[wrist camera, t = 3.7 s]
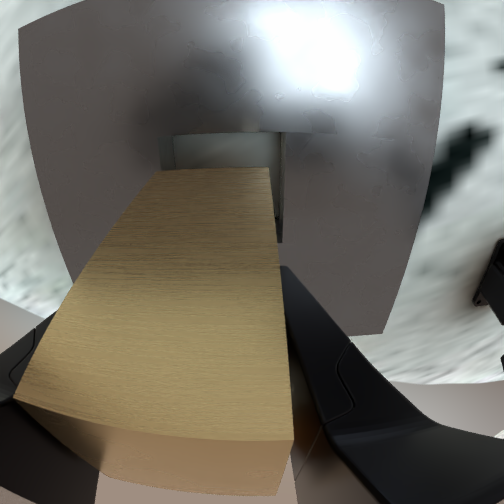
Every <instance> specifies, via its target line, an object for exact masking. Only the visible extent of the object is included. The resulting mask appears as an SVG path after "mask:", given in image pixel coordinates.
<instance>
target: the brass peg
mask: <svg viewBox="0 0 504 504" xmlns="http://www.w3.org/2000/svg"><path fill="white" fill-rule="evenodd" d="M13 398H14V399H15V400H16V401H17V402H18V404H19V405H20V406H21V407H23V408H24V409H25V410H26V411H27V412H28V413H29V414H30V415H31V416H32V417H33V418H34V419H35V420H36V421H37V422H38V423H39V424H41V425H42V426H43V427H44V428H45V429H46V430H47V431H48V432H50V433H51V434H52V435H53V436H54V437H55V438H57V439H58V440H59V441H60V442H62V443H63V444H64V445H65V446H66V447H68V448H69V449H70V450H72V451H73V452H74V453H75V454H77V455H78V456H79V457H81V458H82V459H83V460H85V461H86V462H88V463H89V464H90V465H92V466H93V467H95V468H96V469H98V470H99V471H101V472H102V473H103V474H105V475H106V476H108V477H110V478H114V479H119V480H123V481H127V482H132V483H136V484H141V485H146V486H152V487H157V488H164V489H171V490H177V491H185V492H194V493H205V494H217V495H237V496H238V495H239V496H271V495H272V496H275V495H276V493H277V490H278V487H279V485H280V482H281V479H282V476H283V473H284V470H285V467H286V464H287V460H288V457H289V454H290V451H291V448H292V445H293V442H294V431H293V416H292V402H291V388H290V375H289V363H288V351H287V339H286V327H285V316H284V305H283V295H282V285H281V274H280V264H279V255H278V245H277V236H276V227H275V217H274V209H273V200H272V191H271V183H270V174H269V167H235V168H202V169H182V170H165V171H156V172H155V174H154V175H153V176H152V177H151V178H150V180H149V181H148V182H147V183H146V184H145V186H144V187H143V188H142V189H141V191H140V192H139V193H138V194H137V196H136V197H135V198H134V199H133V201H132V202H131V203H130V205H129V206H128V207H127V208H126V210H125V211H124V212H123V214H122V215H121V216H120V218H119V219H118V220H117V222H116V223H115V224H114V226H113V227H112V228H111V230H110V231H109V233H108V234H107V235H106V237H105V238H104V240H103V241H102V242H101V244H100V245H99V247H98V248H97V250H96V251H95V252H94V254H93V255H92V257H91V258H90V260H89V261H88V263H87V264H86V266H85V267H84V269H83V270H82V272H81V273H80V275H79V276H78V278H77V280H76V281H75V283H74V284H73V286H72V287H71V289H70V291H69V292H68V294H67V296H66V297H65V299H64V300H63V302H62V304H61V305H60V307H59V309H58V311H57V312H56V314H55V316H54V317H53V319H52V321H51V323H50V324H49V326H48V328H47V330H46V332H45V333H44V335H43V337H42V339H41V341H40V343H39V345H38V346H37V348H36V350H35V352H34V354H33V356H32V358H31V360H30V362H29V364H28V366H27V368H26V370H25V372H24V374H23V376H22V379H21V381H20V383H19V385H18V387H17V389H16V392H15V394H14V396H13Z"/></svg>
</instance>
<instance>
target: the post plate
mask: <svg viewBox="0 0 504 504" xmlns="http://www.w3.org/2000/svg"><path fill="white" fill-rule="evenodd" d="M18 35H19V62H20V76H21V86H22V95H23V103H24V111H25V117H26V123H27V129H28V135H29V140H30V145H31V150H32V155H33V159H34V164H35V168H36V172H37V176H38V180H39V184H40V188H41V191H42V195H43V199H44V202H45V205H46V209H47V212H48V215H49V219H50V222H51V225H52V228H53V231H54V234H55V237H56V240H57V242H58V245H59V248H60V251H61V253H62V256H63V259H64V261H65V264H66V267H67V269H68V272H69V274H70V276H71V279H72V281H73V284H74V283H75V281H76V280H77V278H78V276H79V275H80V273H81V272H82V270H83V269H84V267H85V266H86V264H87V263H88V261H89V260H90V258H91V257H92V255H93V254H94V252H95V251H96V250H97V248H98V247H99V245H100V244H101V242H102V241H103V240H104V238H105V237H106V235H107V234H108V233H109V231H110V230H111V228H112V227H113V226H114V224H115V223H116V222H117V220H118V219H119V218H120V216H121V215H122V214H123V212H124V211H125V210H126V208H127V207H128V206H129V205H130V203H131V202H132V201H133V199H134V198H135V197H136V196H137V194H138V193H139V192H140V191H141V189H142V188H143V187H144V186H145V184H146V183H147V182H148V181H149V180H150V178H151V177H152V176H153V175H154V174H155V172H156V171H165V170H176V167H175V158H174V148H173V138H172V136H174V135H187V134H203V133H225V132H281V167H280V205H279V219H275V227H276V236H277V245H278V255H279V264H280V266H288V267H289V268H290V270H291V271H292V272H293V273H294V274H295V275H296V276H297V278H298V279H299V280H300V281H301V282H302V283H303V285H304V286H305V287H306V288H307V289H308V291H309V292H310V293H311V294H312V295H313V296H314V298H315V299H316V300H317V301H318V302H319V303H320V305H321V306H322V307H323V308H324V309H325V310H326V312H327V313H328V314H329V315H330V316H331V318H332V319H333V320H334V321H335V322H336V323H337V325H338V326H339V327H340V328H341V329H342V331H343V332H344V333H345V334H346V335H347V336H359V335H372V334H382V333H383V330H384V328H385V325H386V323H387V320H388V318H389V315H390V312H391V310H392V307H393V304H394V302H395V299H396V296H397V293H398V290H399V287H400V285H401V282H402V279H403V276H404V273H405V269H406V266H407V263H408V260H409V257H410V253H411V250H412V247H413V243H414V240H415V236H416V232H417V229H418V225H419V221H420V217H421V213H422V209H423V205H424V201H425V197H426V192H427V188H428V183H429V178H430V173H431V168H432V163H433V157H434V151H435V145H436V139H437V132H438V125H439V117H440V109H441V100H442V89H443V75H444V56H445V11H444V4H441V3H438V2H436V1H433V0H84V1H81V2H79V3H76V4H73V5H71V6H68V7H65V8H63V9H60V10H58V11H56V12H53V13H51V14H49V15H46V16H44V17H42V18H40V19H38V20H36V21H33V22H31V23H29V24H27V25H25V26H23V27H21V28H19V29H18Z"/></svg>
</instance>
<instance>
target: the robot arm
mask: <svg viewBox="0 0 504 504" xmlns="http://www.w3.org/2000/svg"><path fill="white" fill-rule="evenodd" d="M280 274H281V285H282V295H283V305H284V316H285V327H286V339H287V351H288V363H289V375H290V388H291V402H292V416H293V431H294V442H293V445H292V448H291V451H290V455H291V462H292V468H293V474H294V480H295V488H296V494H297V501H298V504H504V439H500V438H495V437H490V436H485V435H481V434H476V433H472V432H468V431H464V430H460V429H456V428H451V427H448V426H445V425H441V424H439V423H437V422H435V421H433V420H431V419H430V418H428V417H427V416H426V415H424V414H423V413H422V412H421V411H420V410H418V409H417V408H416V407H415V406H414V405H413V404H412V403H411V402H410V401H409V400H408V399H407V398H406V397H405V396H404V395H403V394H401V393H400V392H399V391H398V390H397V389H396V388H395V387H394V386H393V385H392V384H391V383H390V382H389V381H388V380H387V379H386V378H385V377H384V376H383V375H382V374H381V373H380V372H379V371H378V370H377V369H376V368H375V367H374V366H373V365H372V364H371V363H370V362H369V361H368V360H367V359H366V358H365V356H364V355H363V354H362V353H361V352H360V351H359V350H358V348H357V347H356V346H355V345H354V344H353V343H352V342H351V340H350V339H349V338H348V337H347V335H346V334H345V333H344V332H343V331H342V329H341V328H340V327H339V326H338V325H337V323H336V322H335V321H334V320H333V319H332V318H331V316H330V315H329V314H328V313H327V312H326V310H325V309H324V308H323V307H322V306H321V305H320V303H319V302H318V301H317V300H316V299H315V298H314V296H313V295H312V294H311V293H310V292H309V291H308V289H307V288H306V287H305V286H304V285H303V283H302V282H301V281H300V280H299V279H298V278H297V276H296V275H295V274H294V273H293V272H292V271H291V270H290V268H289V267H288V266H280ZM472 302H473V304H474V305H475V306H483V305H489V306H490V307H491V309H492V311H493V312H494V314H495V315H496V317H497V318H498V320H499V322H500V323H501V325H504V239H502V240H500V241H499V242H498V244H497V247H496V249H495V252H494V254H493V257H492V259H491V261H490V264H489V266H488V268H487V271H486V273H485V275H484V277H483V280H482V282H481V284H480V286H479V288H478V290H477V292H476V294H475V296H474V298H473V301H472ZM57 311H58V310H57ZM57 311H55V312H54V313H53V314H52V315H50V316H49V317H48V318H46V319H45V320H44V321H43V322H41V323H40V324H39V325H37V326H36V329H35V328H34V329H32V330H31V331H30V332H29V333H27V334H26V335H25V336H24V337H22V338H21V339H20V340H18V341H17V342H16V343H15V344H13V345H12V346H11V347H9V348H8V349H6V350H5V351H4V352H2V353H1V354H0V504H94V503H95V496H96V490H97V483H98V477H99V470H98V469H96V468H95V467H93V466H92V465H90V464H89V463H88V462H86V461H85V460H83V459H82V458H81V457H79V456H78V455H77V454H75V453H74V452H73V451H72V450H70V449H69V448H68V447H66V446H65V445H64V444H63V443H62V442H60V441H59V440H58V439H57V438H55V437H54V436H53V435H52V434H51V433H50V432H48V431H47V430H46V429H45V428H44V427H43V426H42V425H41V424H39V423H38V422H37V421H36V420H35V419H34V418H33V417H32V416H31V415H30V414H29V413H28V412H27V411H26V410H25V409H24V408H23V407H21V406H20V405H19V404H18V402H17V401H16V400H15V399H14V398H13V396H14V394H15V392H16V389H17V387H18V385H19V383H20V381H21V379H22V376H23V374H24V372H25V370H26V368H27V366H28V364H29V362H30V360H31V358H32V356H33V354H34V352H35V350H36V348H37V346H38V345H39V343H40V341H41V339H42V337H43V335H44V333H45V332H46V330H47V328H48V326H49V324H50V323H51V321H52V319H53V317H54V316H55V314H56V312H57ZM501 362H502V366H503V370H504V355H503V356H502V357H501Z"/></svg>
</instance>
